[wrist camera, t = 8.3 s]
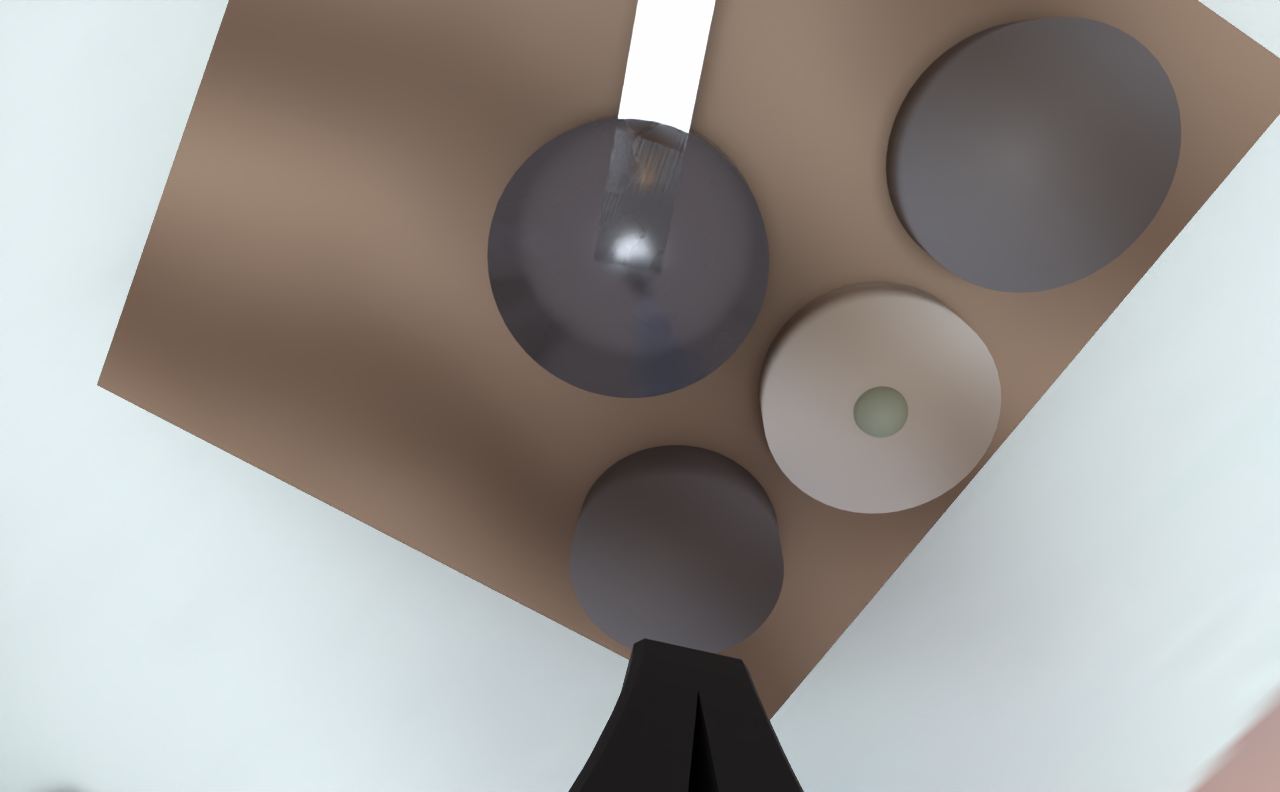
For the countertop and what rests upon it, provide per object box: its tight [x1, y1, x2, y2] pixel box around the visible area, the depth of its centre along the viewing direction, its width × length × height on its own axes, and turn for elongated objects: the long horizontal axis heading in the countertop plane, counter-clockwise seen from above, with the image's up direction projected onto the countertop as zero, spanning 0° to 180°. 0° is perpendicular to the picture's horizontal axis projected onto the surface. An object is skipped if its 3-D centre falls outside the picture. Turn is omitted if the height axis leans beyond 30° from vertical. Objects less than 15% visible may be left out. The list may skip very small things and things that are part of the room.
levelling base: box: [97, 0, 1280, 720], centre depth 16 cm, size 17×17×3 cm
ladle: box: [487, 0, 769, 398], centre depth 13 cm, size 10×5×4 cm, turn 169°
